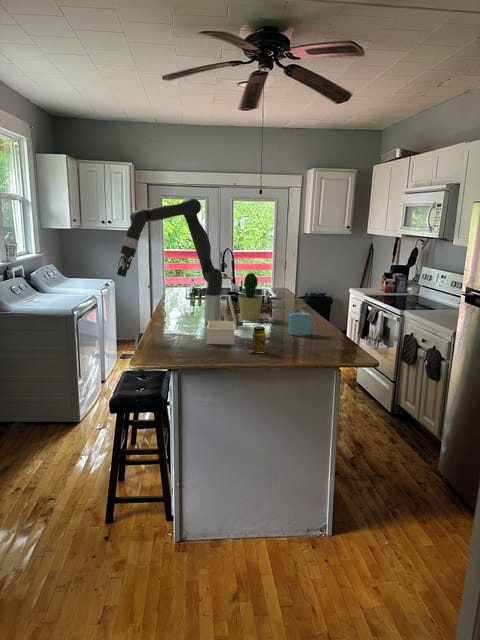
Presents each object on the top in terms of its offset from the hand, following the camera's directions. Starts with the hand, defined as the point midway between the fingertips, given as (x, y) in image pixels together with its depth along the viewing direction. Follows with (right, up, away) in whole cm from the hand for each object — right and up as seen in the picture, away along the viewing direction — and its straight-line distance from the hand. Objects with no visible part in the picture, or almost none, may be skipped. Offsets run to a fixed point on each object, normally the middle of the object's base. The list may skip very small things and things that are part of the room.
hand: (120, 275), depth 239 cm
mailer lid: (+60, -19, -7) cm, 63 cm away
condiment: (+72, -39, -25) cm, 85 cm away
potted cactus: (+70, -23, +47) cm, 88 cm away
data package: (+97, -32, +10) cm, 103 cm away
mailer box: (+54, -34, -4) cm, 64 cm away
